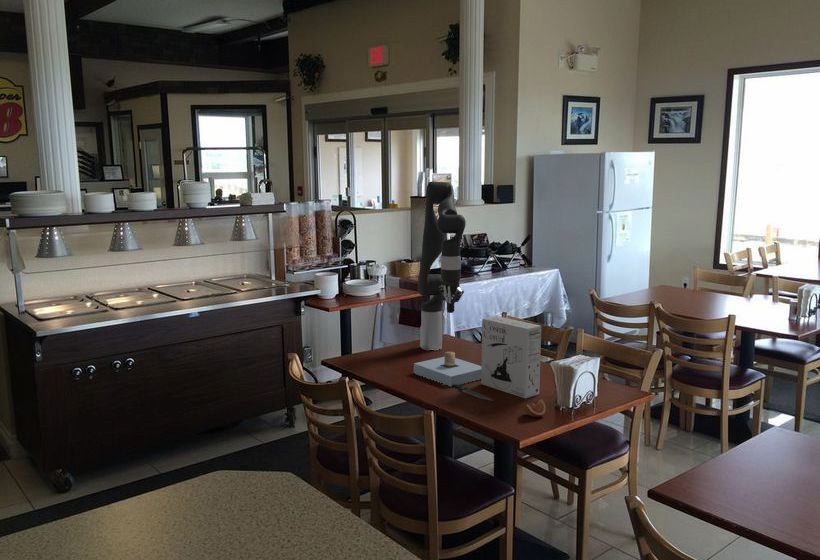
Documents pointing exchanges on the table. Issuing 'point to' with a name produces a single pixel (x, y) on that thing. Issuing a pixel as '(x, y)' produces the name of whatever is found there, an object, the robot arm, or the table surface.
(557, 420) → the table surface
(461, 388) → the knife
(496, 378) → the cereal box
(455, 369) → the board
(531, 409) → the fruit slice
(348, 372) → the table surface
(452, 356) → the peg
